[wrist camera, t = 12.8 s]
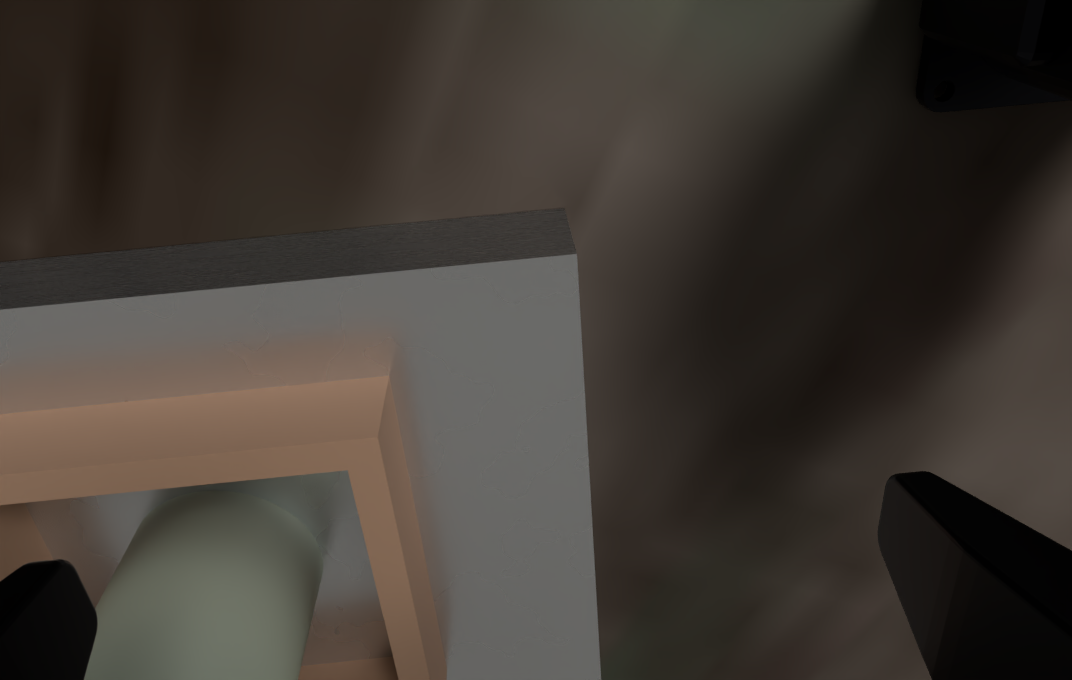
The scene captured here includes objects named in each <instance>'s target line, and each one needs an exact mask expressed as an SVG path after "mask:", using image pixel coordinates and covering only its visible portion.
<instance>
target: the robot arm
mask: <svg viewBox="0 0 1072 680" xmlns="http://www.w3.org/2000/svg"><path fill="white" fill-rule="evenodd" d="M919 27H920V29H921V30H922V31H923V32H924V40H923V46H922V53H921V60H920V66H919V73H918V79H917V86H916V98H917V100H918V102H919V104H921V105H922V106H924V107H925V108H927V109H929V110H931V111H934V112H949V111H960V110H970V109H981V108H991V107H1002V106H1013V105H1023V104H1034V103H1044V102H1055V101H1065V100H1072V0H923V1H922V8H921V14H920V21H919ZM943 81H946V85H947V87H946V90H945V92H944V93H943V94H942V95H941V96H940V97H937V98H934V90H935V88H936V86H937V85H938V84H939V83H940V82H943ZM878 542H879V547H880V550H881V553H882V556H883V558H884V561H885V563H886V566H887V568H888V571H889V574H890V576H891V579H892V581H893V584H894V586H895V589H896V591H897V594H898V596H899V599H900V601H901V604H902V606H903V609H904V611H905V614H906V616H907V619H908V622H909V624H910V627H911V629H912V632H913V634H914V637H915V639H916V642H917V644H918V647H919V649H920V652H921V654H922V657H923V659H924V662H925V664H926V666H927V669H928V671H929V673H930V676H931V678H932V680H1072V551H1071V550H1070V549H1068V548H1066V547H1064V546H1062V545H1061V544H1059V543H1057V542H1055V541H1053V540H1052V539H1050V538H1048V537H1046V536H1044V535H1043V534H1041V533H1039V532H1037V531H1036V530H1034V529H1032V528H1030V527H1028V526H1027V525H1025V524H1023V523H1021V522H1019V521H1018V520H1016V519H1014V518H1012V517H1010V516H1009V515H1007V514H1005V513H1003V512H1001V511H1000V510H998V509H996V508H994V507H992V506H991V505H989V504H987V503H985V502H983V501H982V500H980V499H978V498H976V497H974V496H973V495H971V494H969V493H967V492H965V491H964V490H962V489H960V488H958V487H956V486H955V485H953V484H951V483H949V482H947V481H946V480H944V479H942V478H940V477H939V476H937V475H935V474H933V473H930V472H926V471H919V472H909V473H899V474H894V475H892V476H891V477H890V478H889V479H888V481H887V483H886V486H885V492H884V497H883V503H882V509H881V515H880V520H879V526H878ZM97 626H98V620H97V613H96V610H95V607H94V605H93V603H92V601H91V599H90V597H89V595H88V593H87V591H86V589H85V587H84V585H83V583H82V581H81V579H80V577H79V575H78V573H77V571H76V569H75V567H74V565H73V564H72V563H70V562H69V561H67V560H64V559H54V560H45V561H35V562H30V563H27V564H24V565H22V566H21V567H19V568H18V569H17V570H15V571H14V572H12V573H11V574H10V575H8V576H7V577H6V578H4V579H3V580H1V581H0V680H84V678H85V674H86V671H87V667H88V663H89V660H90V656H91V652H92V649H93V645H94V642H95V638H96V634H97Z"/></svg>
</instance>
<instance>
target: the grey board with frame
mask: <svg viewBox="0 0 1072 680" xmlns="http://www.w3.org/2000/svg"><path fill="white" fill-rule="evenodd" d="M214 490H216V491H231V492H239V493H244V494H248V495H252V496H256V497H259V498H261V499H264V500H267V501H269V502H271V503H274V504H276V505H278V506H280V507H281V508H283V509H285V510H286V511H288V512H289V513H291V514H292V515H293V516H295V517H296V518H298V519H299V520H300V521H301V522H302V523H303V524H304V525H305V526H306V527H307V529H308V530H309V531H310V532H311V533H312V535H313V536H314V538H315V540H316V541H317V543H318V546H319V548H320V551H321V555H322V559H323V573H322V579H321V583H320V587H319V592H318V596H317V600H316V604H315V609H314V613H313V617H312V622H311V626H310V630H309V634H308V639H307V643H306V647H305V652H304V656H303V660H302V665H301V669H300V673H299V677H298V680H601V669H600V651H599V634H598V616H597V598H596V581H595V563H594V546H593V528H592V511H591V493H590V476H589V458H588V441H587V423H586V406H585V388H584V371H583V353H582V335H581V318H580V300H579V283H578V265H577V253H576V249H575V245H574V242H573V238H572V234H571V231H570V227H569V223H568V219H567V216H566V212H565V208H563V209H553V210H542V211H532V212H521V213H511V214H501V215H490V216H480V217H469V218H459V219H448V220H438V221H428V222H417V223H407V224H396V225H386V226H375V227H365V228H355V229H344V230H334V231H323V232H313V233H302V234H292V235H281V236H271V237H261V238H250V239H240V240H229V241H219V242H208V243H198V244H188V245H177V246H167V247H156V248H146V249H135V250H125V251H114V252H104V253H94V254H83V255H73V256H62V257H52V258H41V259H31V260H21V261H10V262H0V581H1V580H3V579H4V578H6V577H7V576H8V575H10V574H11V573H12V572H14V571H15V570H17V569H18V568H19V567H21V566H22V565H24V564H27V563H30V562H35V561H45V560H54V559H64V560H67V561H69V562H70V563H72V564H73V565H74V567H75V569H76V571H77V573H78V575H79V577H80V579H81V581H82V583H83V585H84V587H85V589H86V591H87V593H88V595H89V597H90V599H91V601H92V603H93V605H94V607H95V608H96V606H97V604H98V602H99V600H100V598H101V596H102V595H103V593H104V591H105V589H106V587H107V585H108V583H109V581H110V580H111V578H112V576H113V574H114V572H115V570H116V568H117V566H118V565H119V563H120V561H121V559H122V557H123V555H124V553H125V551H126V550H127V548H128V546H129V544H130V542H131V540H132V538H133V536H134V534H135V533H136V531H137V529H138V527H139V526H140V524H141V522H142V521H143V519H144V518H145V517H146V516H147V515H148V514H149V513H150V512H151V511H152V510H154V509H155V508H156V507H158V506H159V505H161V504H163V503H164V502H166V501H168V500H170V499H173V498H175V497H178V496H181V495H185V494H188V493H194V492H200V491H214Z"/></svg>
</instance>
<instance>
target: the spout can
mask: <svg viewBox="0 0 1072 680" xmlns="http://www.w3.org/2000/svg"><path fill="white" fill-rule="evenodd" d="M322 573H323V559H322V555H321V551H320V548H319V546H318V543H317V541H316V540H315V538H314V536H313V535H312V533H311V532H310V531H309V530H308V529H307V527H306V526H305V525H304V524H303V523H302V522H301V521H300V520H299V519H298V518H296V517H295V516H293V515H292V514H291V513H289V512H288V511H286V510H285V509H283V508H281V507H280V506H278V505H276V504H274V503H271V502H269V501H267V500H264V499H261V498H259V497H256V496H252V495H248V494H244V493H239V492H231V491H216V490H214V491H200V492H194V493H188V494H185V495H181V496H178V497H175V498H173V499H170V500H168V501H166V502H164V503H163V504H161V505H159V506H158V507H156V508H155V509H154V510H152V511H151V512H150V513H149V514H148V515H147V516H146V517H145V518H144V519H143V521H142V522H141V524H140V526H139V527H138V529H137V531H136V533H135V534H134V536H133V538H132V540H131V542H130V544H129V546H128V548H127V550H126V551H125V553H124V555H123V557H122V559H121V561H120V563H119V565H118V566H117V568H116V570H115V572H114V574H113V576H112V578H111V580H110V581H109V583H108V585H107V587H106V589H105V591H104V593H103V595H102V596H101V598H100V600H99V602H98V604H97V606H96V608H95V610H96V613H97V620H98V626H97V634H96V638H95V642H94V645H93V649H92V652H91V656H90V660H89V663H88V667H87V671H86V674H85V678H84V680H298V677H299V673H300V669H301V665H302V660H303V656H304V652H305V647H306V643H307V639H308V634H309V630H310V626H311V622H312V617H313V613H314V609H315V604H316V600H317V596H318V592H319V587H320V583H321V579H322Z"/></svg>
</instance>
